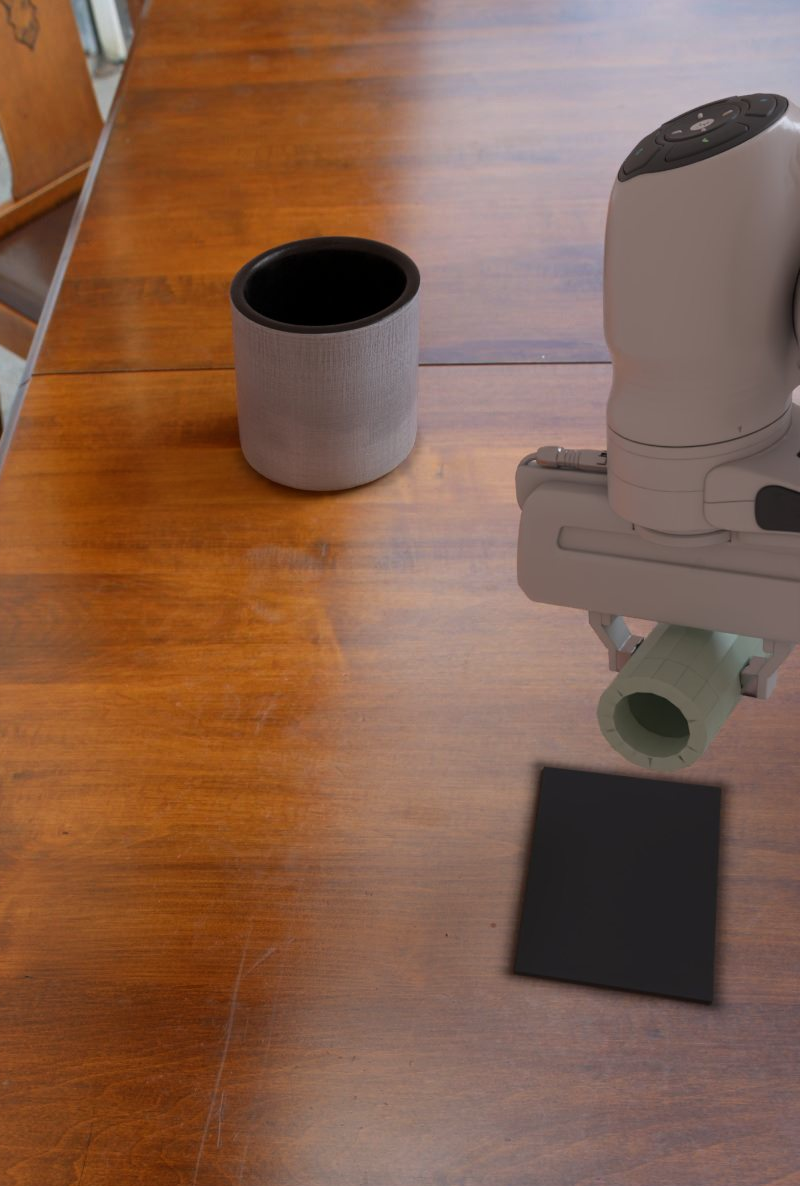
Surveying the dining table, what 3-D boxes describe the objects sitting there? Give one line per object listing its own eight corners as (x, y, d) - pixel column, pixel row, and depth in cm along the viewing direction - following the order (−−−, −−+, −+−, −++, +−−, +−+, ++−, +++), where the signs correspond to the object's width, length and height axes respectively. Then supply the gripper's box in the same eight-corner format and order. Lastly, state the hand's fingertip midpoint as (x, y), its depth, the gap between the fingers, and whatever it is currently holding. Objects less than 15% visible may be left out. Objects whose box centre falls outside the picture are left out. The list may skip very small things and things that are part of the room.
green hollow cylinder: (807, 576, 77) (719, 703, 71) (777, 661, 82) (692, 787, 76) (702, 542, 80) (607, 661, 74) (679, 627, 85) (588, 745, 79)
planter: (309, 523, 115) (302, 356, 103) (207, 442, 124) (190, 279, 111) (453, 450, 119) (463, 282, 107) (345, 377, 128) (343, 213, 116)
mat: (543, 771, 95) (544, 766, 94) (719, 792, 92) (721, 787, 92) (512, 976, 85) (513, 970, 84) (710, 1007, 82) (712, 1001, 81)
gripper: (486, 470, 73) (505, 677, 82) (882, 511, 62) (853, 747, 71) (539, 417, 76) (552, 622, 85) (925, 447, 65) (892, 681, 74)
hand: (691, 679), depth 78 cm, fingers closed on green hollow cylinder, 6 cm apart
